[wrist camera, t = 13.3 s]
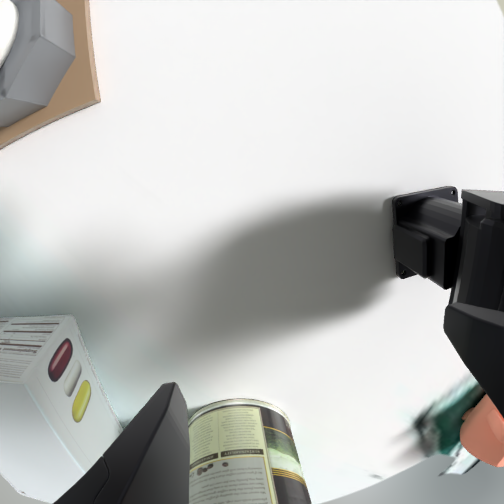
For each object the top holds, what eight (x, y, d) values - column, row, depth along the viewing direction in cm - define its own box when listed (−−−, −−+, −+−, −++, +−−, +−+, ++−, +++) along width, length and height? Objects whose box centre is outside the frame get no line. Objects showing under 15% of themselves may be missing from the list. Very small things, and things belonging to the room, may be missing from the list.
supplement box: (137, 447, 27) (125, 519, 18) (41, 438, 26) (17, 494, 17) (76, 311, 21) (22, 385, 13) (-25, 316, 20) (-79, 367, 12)
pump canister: (88, -19, 14) (58, -56, 8) (100, 101, 17) (60, 85, 11) (-20, 43, 13) (-62, 29, 8) (-14, 157, 17) (-64, 163, 11)
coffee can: (309, 407, 26) (355, 535, 13) (264, 465, 29) (285, 572, 16) (202, 385, 24) (201, 539, 11) (173, 449, 27) (167, 568, 13)
